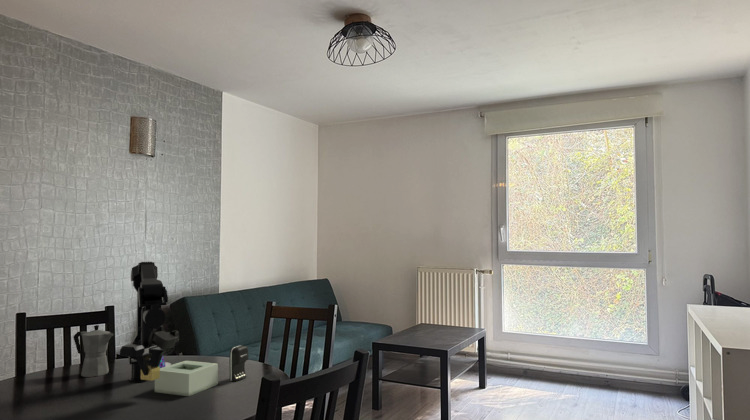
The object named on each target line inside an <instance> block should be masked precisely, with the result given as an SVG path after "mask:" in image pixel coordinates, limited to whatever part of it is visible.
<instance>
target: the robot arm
mask: <svg viewBox="0 0 750 420" xmlns="http://www.w3.org/2000/svg"><path fill="white" fill-rule="evenodd" d="M155 264H156V263H155V262H154V261H141V262H138V264H137V265H135V266H133V267H131V270H130V282H132V287H133V288H134V290H135V291H136V292H137V294H136V295H137V297H136V334H135V336H134V337H133V338H132V340H131V343H130V344H127V345H122V346H121V347H120V349H119V356H120V357H127V358H128V365H130V366H131V374H130V375H131V376H130V377H131V378H128V379H127V381H128V382H135V383H143V382H146V381H148V380H141V370H142V372H143V374H144V375H148V366H157V367H158V366H159V363H160V361H161V358H162V356H163V357H164V354H165V353H167V352H168V351H169V350H170V348H172V349H173V348H174V347H176V346H180V344H179V343H180V332H179V331H178V330H175V329H174V330H172V331H171V330H170V331H168V332H167V331H165V326H164V323H165V321H166V313H165V312H164V310H162V306H167V303H169V302H168V301H169V297H168V291H167V288H166V286H164V284H163V282H162V280H159V279H158V277H159V275H158V273H159V272H158V266H157V265H155Z"/></svg>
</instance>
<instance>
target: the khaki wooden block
mask: <svg viewBox="0 0 750 420" xmlns="http://www.w3.org/2000/svg"><path fill="white" fill-rule="evenodd" d="M158 378H160V367H157V366H148V375H144V374H143V372H142V370H141V380H147V381H150V382H151V381H152V382H153V381H155V380H156V379H158Z"/></svg>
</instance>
